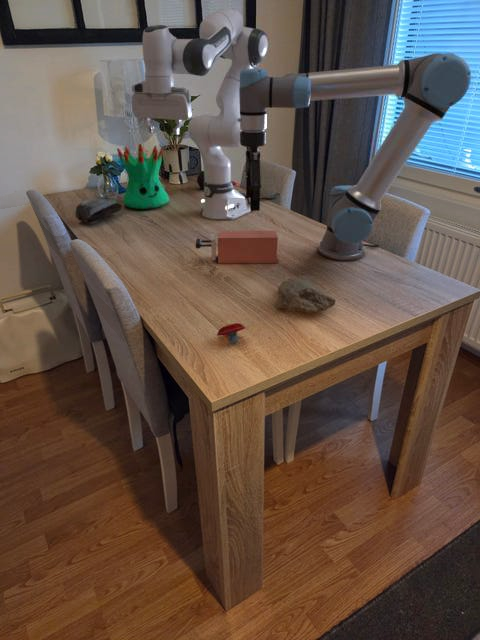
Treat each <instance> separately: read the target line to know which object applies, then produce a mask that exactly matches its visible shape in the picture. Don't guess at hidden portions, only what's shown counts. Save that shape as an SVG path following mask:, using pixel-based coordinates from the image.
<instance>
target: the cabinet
mask: <svg viewBox="0 0 480 640" xmlns="http://www.w3.org/2000/svg"><path fill="white" fill-rule="evenodd" d="M278 238H279V237H278V234H277V230H217V263H218V264H276V263H277V259H278V241H279V240H278Z"/></svg>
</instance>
